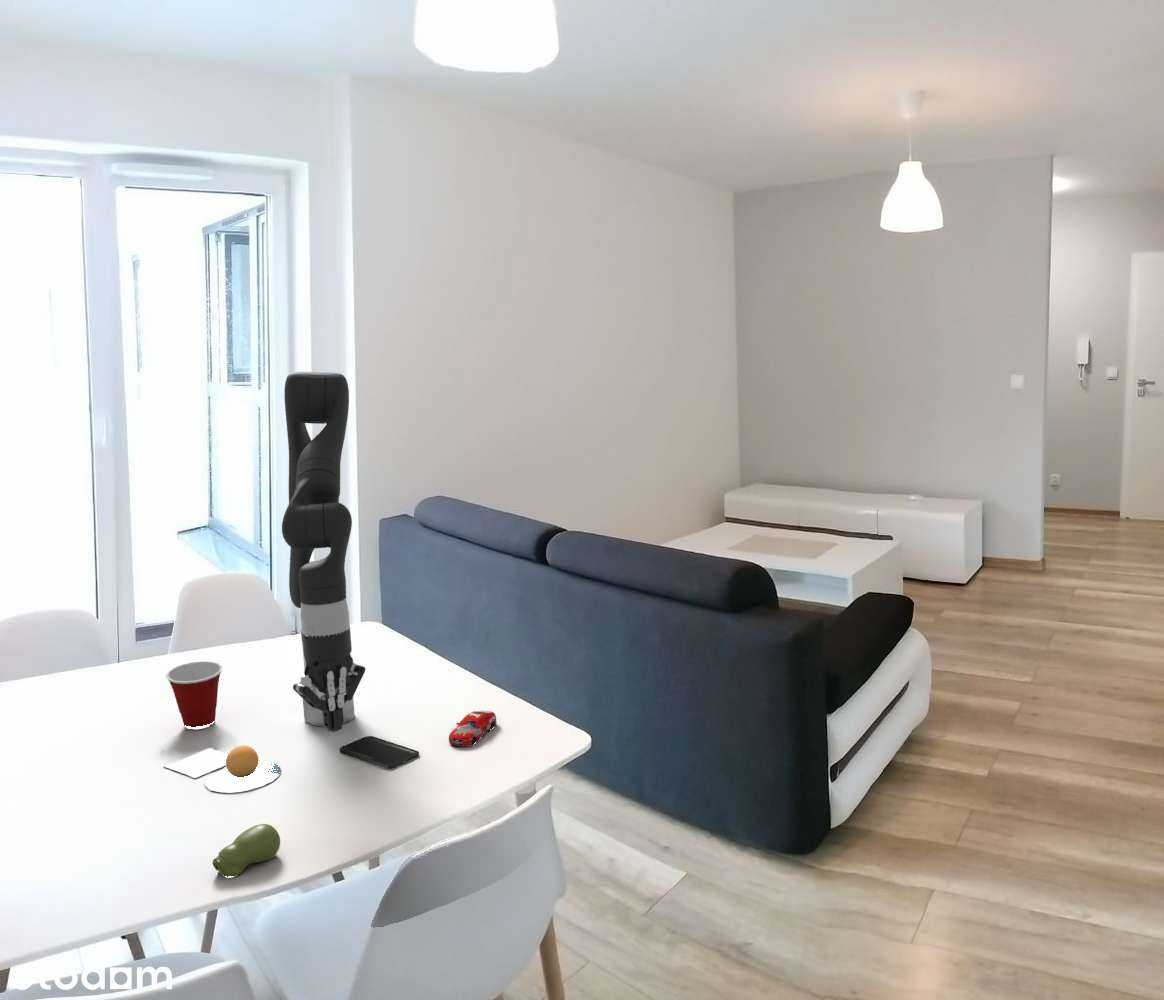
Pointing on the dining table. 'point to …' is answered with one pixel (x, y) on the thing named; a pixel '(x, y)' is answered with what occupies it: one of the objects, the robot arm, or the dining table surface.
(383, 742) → the phone
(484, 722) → the race car
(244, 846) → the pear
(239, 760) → the ball
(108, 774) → the dining table surface
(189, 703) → the plastic cup
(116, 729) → the dining table surface
